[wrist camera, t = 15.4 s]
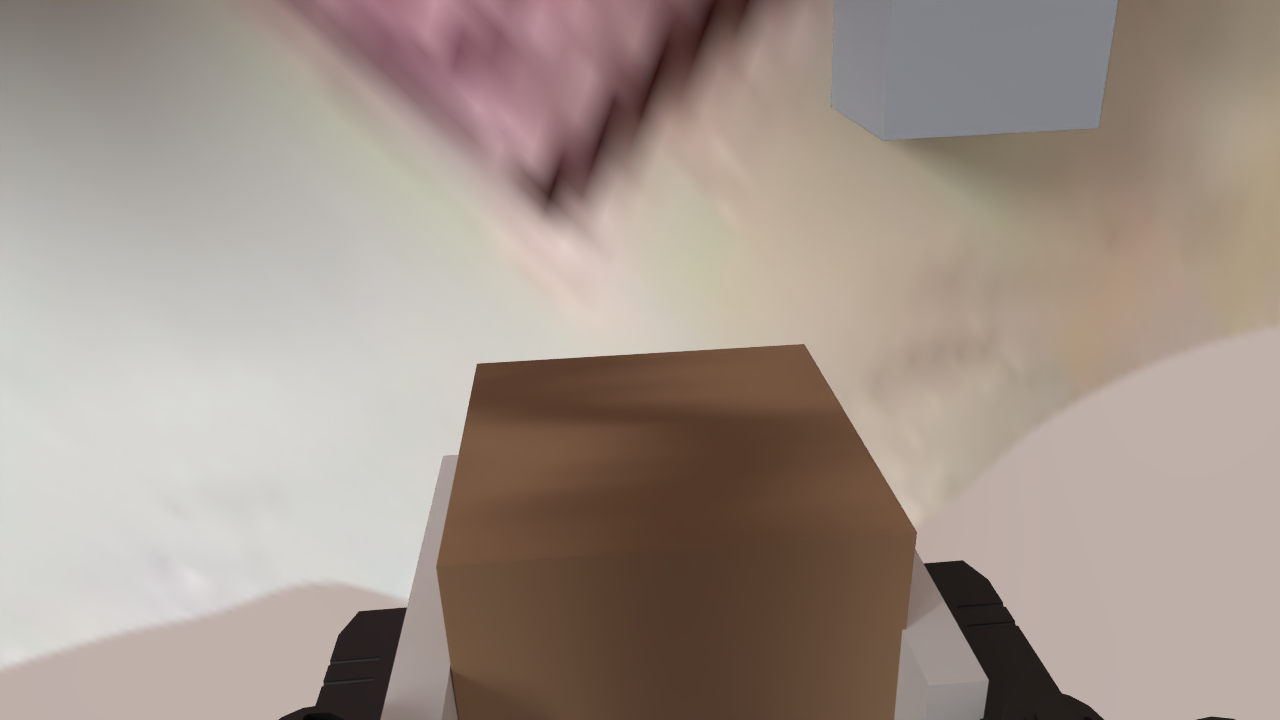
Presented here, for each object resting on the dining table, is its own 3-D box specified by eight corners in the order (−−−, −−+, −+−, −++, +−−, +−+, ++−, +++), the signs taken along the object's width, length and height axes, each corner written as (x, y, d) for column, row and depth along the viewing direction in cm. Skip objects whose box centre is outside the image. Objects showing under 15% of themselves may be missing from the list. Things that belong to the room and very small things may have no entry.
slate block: (830, 106, 31) (883, 140, 25) (837, -95, 28) (898, -105, 23) (1007, 96, 31) (1098, 128, 26) (1030, -104, 29) (1135, -116, 23)
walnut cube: (507, 626, 19) (485, 896, 14) (477, 363, 17) (435, 566, 11) (792, 604, 20) (881, 860, 14) (804, 344, 17) (916, 532, 12)
